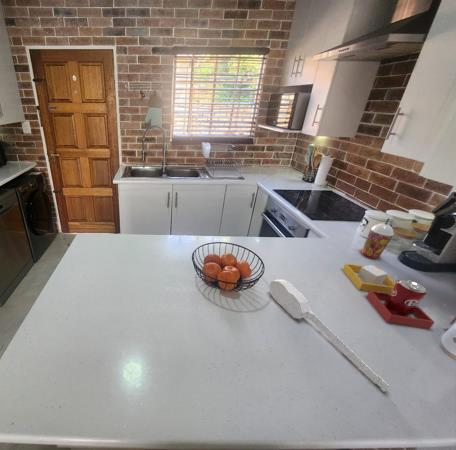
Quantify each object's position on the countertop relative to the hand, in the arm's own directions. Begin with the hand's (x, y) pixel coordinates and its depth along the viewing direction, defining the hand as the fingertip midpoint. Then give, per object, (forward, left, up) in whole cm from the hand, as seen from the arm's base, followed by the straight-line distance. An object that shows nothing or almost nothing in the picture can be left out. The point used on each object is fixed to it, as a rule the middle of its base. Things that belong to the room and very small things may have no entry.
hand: (447, 243), depth 85 cm
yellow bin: (+15, -3, -23) cm, 27 cm away
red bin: (+15, +13, -23) cm, 30 cm away
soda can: (+15, +13, -23) cm, 30 cm away
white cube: (+15, -3, -23) cm, 27 cm away
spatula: (+47, +29, -23) cm, 60 cm away
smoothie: (+2, -27, -23) cm, 35 cm away
